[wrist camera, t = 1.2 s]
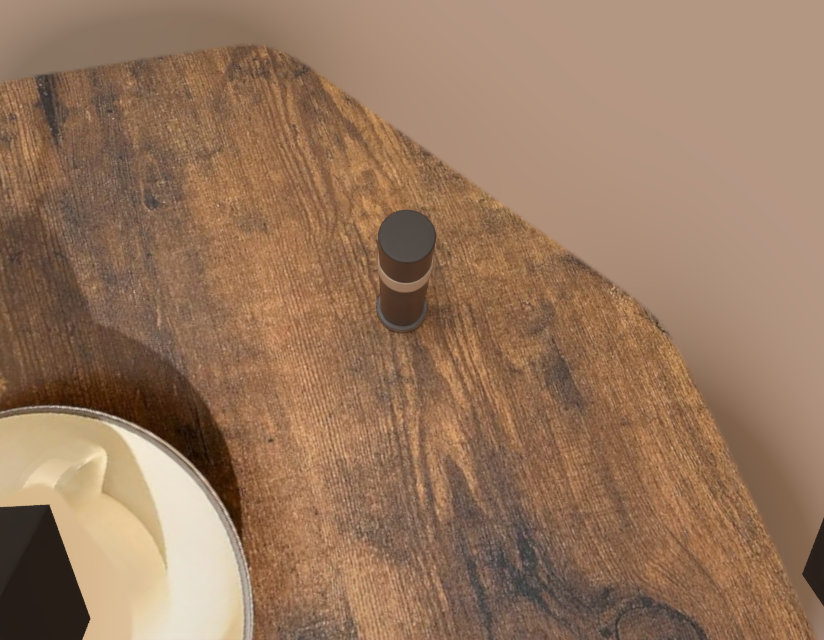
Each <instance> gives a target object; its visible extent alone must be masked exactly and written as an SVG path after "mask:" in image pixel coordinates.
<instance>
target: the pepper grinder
mask: <svg viewBox="0 0 824 640" xmlns="http://www.w3.org/2000/svg"><path fill="white" fill-rule="evenodd" d="M435 242H436V232H435V229H434V226H433V224H432V223H431V221H430V220H429V219H428V218H427V217H426V216H424V215H423V214H421V213H419V212H417V211H413V210H400V211H397V212H394V213H392V214H391V215H389V216H388V217H387V218H386V219H385V220H384V221H383V222H382V224H381V226H380V229H379V233H378V247H379V252H378V272H379V279H380V295H379V297H378V299H377V306H376V308H377V315H378V318H379V320H380V322H381V323H382V324H383V325H384V326H385V327H386V328H387V329H389V330H391V331H393V332H397V333H407V332H410V331H413V330H415V329H416V328H418V327H419V326H420V325H421V324H422V323H423V321H424V319H425V317H426V314H427V300H426V292H427V286H428V281H429V277H430V275H431V271H432V265H433V253H434V248H435Z"/></svg>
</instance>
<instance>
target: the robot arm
mask: <svg viewBox="0 0 824 640" xmlns="http://www.w3.org/2000/svg"><path fill="white" fill-rule="evenodd" d="M802 575H803V576H804V578H805V579H806V581H807V582H808V584H809V585H810V587H811V588H812V590H813V591H814V592H815V594H816V596H817V597H818V598H819V600H820V601H821V603H822V604H823V606H824V519H823V522H822V524H821V527H820V529H819V532H818V534H817V537H816V540H815V543H814V545H813V548H812V550H811V553H810V555H809V558H808V561H807V563H806V566H805V568H804V571H803V574H802ZM89 621H90V616H89V613H88V610H87V608H86V605H85V602H84V599H83V597H82V594H81V591H80V589H79V586H78V583H77V580H76V577H75V575H74V572H73V569H72V566H71V563H70V561H69V558H68V555H67V552H66V550H65V547H64V544H63V541H62V539H61V536H60V533H59V530H58V527H57V525H56V522H55V519H54V516H53V514H52V511H51V508H50V505H33V506H16V507H0V640H82V639H83V636H84V634H85V631H86V628H87V626H88V623H89Z"/></svg>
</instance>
